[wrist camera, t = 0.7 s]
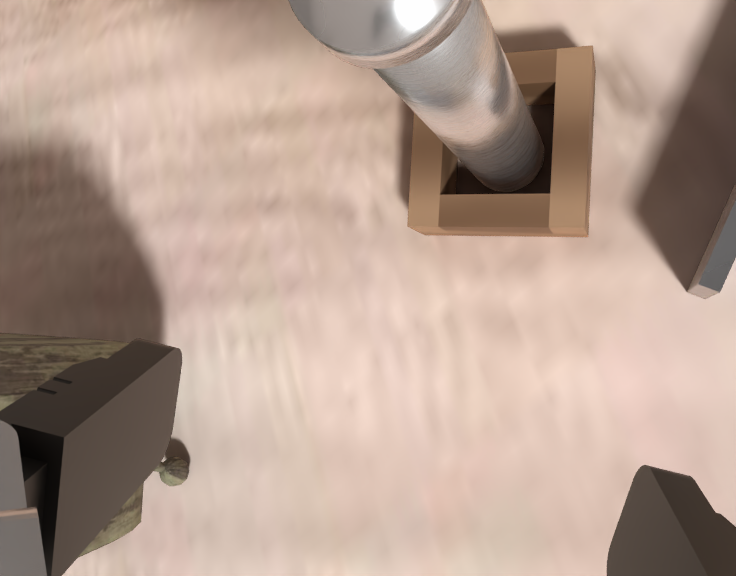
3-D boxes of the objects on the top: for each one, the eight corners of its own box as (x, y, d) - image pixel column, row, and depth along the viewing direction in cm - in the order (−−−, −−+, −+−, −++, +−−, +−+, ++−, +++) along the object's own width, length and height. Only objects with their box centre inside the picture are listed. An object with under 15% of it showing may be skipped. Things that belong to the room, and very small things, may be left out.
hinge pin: (463, 112, 35) (290, -126, 17) (557, 107, 33) (475, -164, 15) (459, 202, 34) (278, 57, 16) (552, 201, 33) (464, 40, 15)
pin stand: (433, 82, 35) (416, 60, 32) (595, 70, 32) (592, 45, 30) (424, 235, 35) (407, 226, 32) (588, 236, 32) (584, 227, 29)
